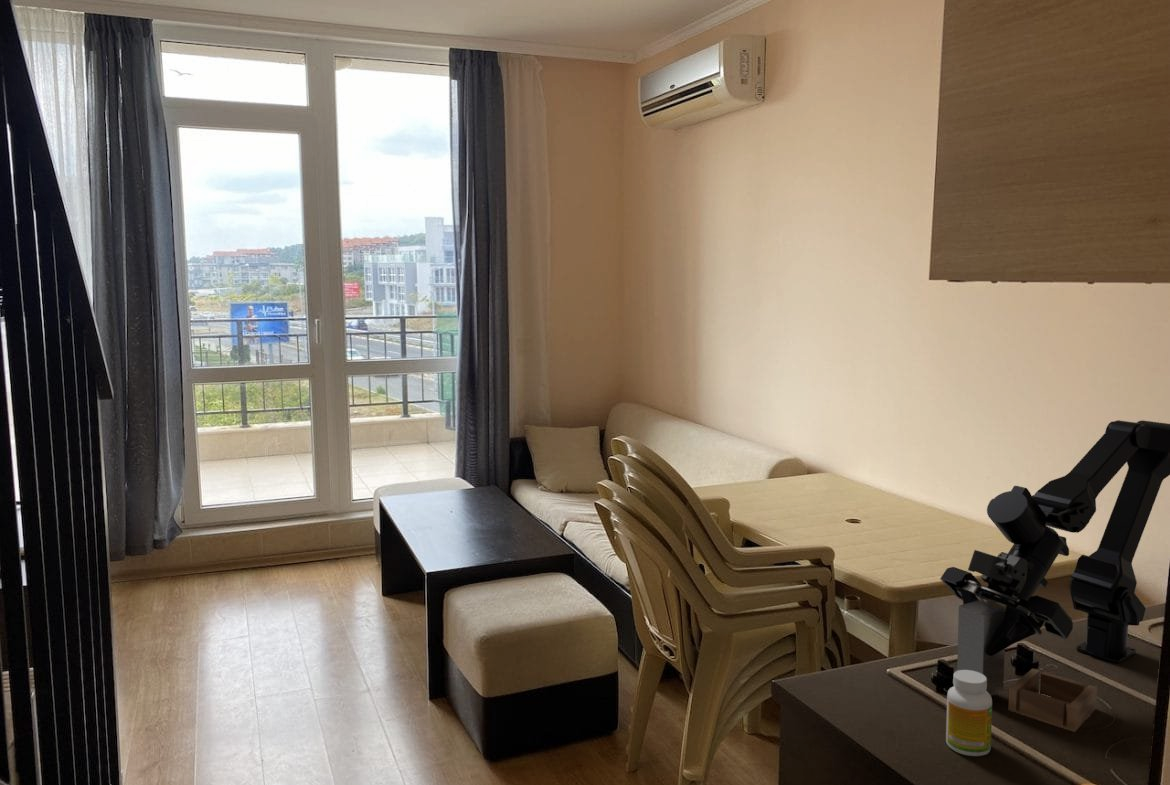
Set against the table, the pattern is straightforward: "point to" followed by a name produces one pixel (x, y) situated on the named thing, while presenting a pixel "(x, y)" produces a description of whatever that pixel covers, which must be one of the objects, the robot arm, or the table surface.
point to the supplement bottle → (969, 714)
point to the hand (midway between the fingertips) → (974, 648)
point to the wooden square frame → (1053, 699)
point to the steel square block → (981, 642)
